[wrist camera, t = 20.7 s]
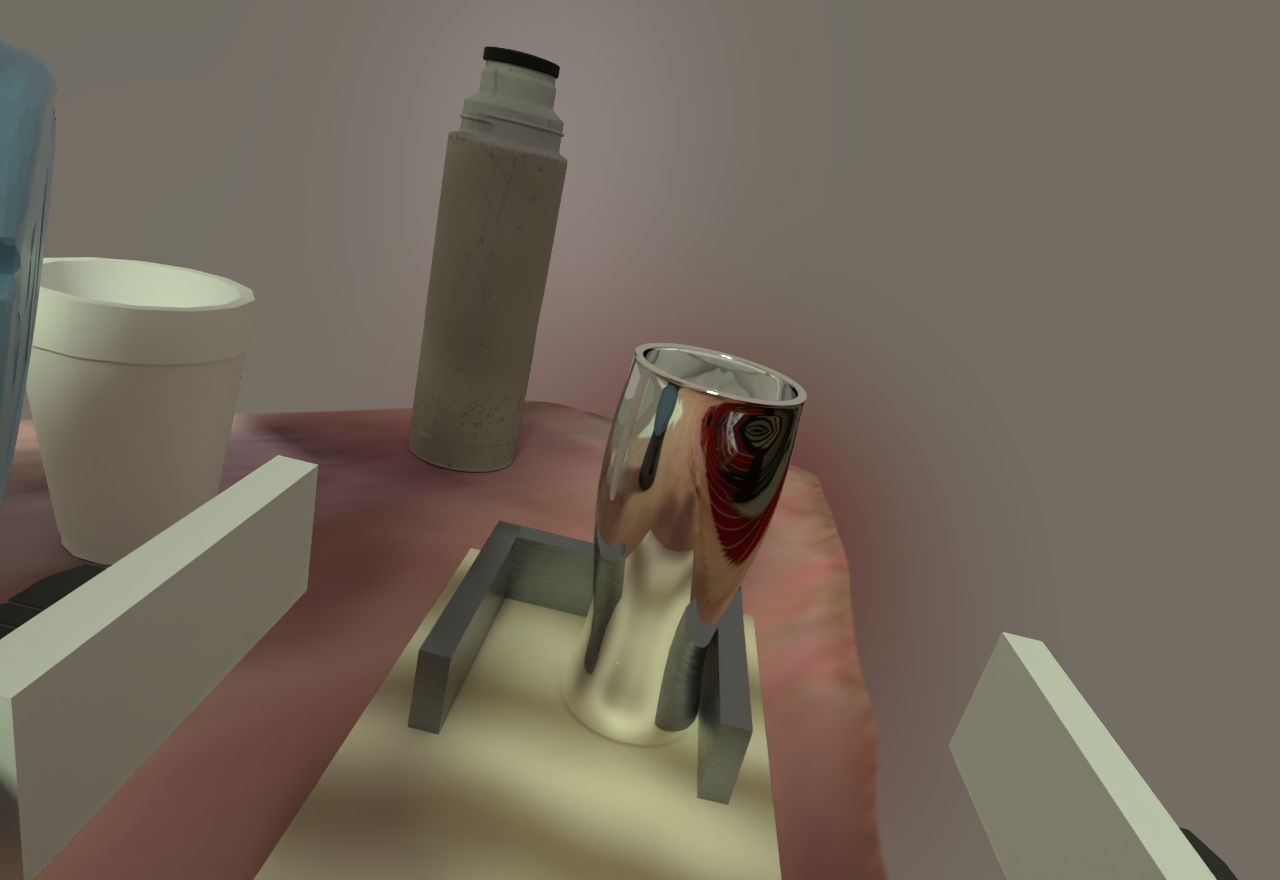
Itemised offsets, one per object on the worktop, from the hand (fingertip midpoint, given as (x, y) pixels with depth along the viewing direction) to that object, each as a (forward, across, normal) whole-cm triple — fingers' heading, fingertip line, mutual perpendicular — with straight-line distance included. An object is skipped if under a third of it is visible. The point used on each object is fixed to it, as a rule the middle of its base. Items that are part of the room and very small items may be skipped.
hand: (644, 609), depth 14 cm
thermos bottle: (+41, -14, -16) cm, 46 cm away
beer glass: (+15, +2, -14) cm, 20 cm away
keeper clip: (+16, 0, -14) cm, 21 cm away
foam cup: (+20, -24, -16) cm, 36 cm away
